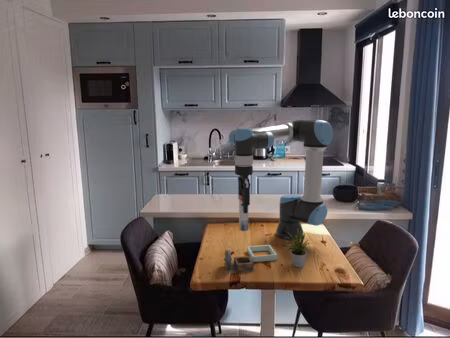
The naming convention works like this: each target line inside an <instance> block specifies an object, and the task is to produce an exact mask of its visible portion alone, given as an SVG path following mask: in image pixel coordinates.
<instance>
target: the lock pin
mask: <svg viewBox="0 0 450 338" xmlns="http://www.w3.org/2000/svg"><path fill="white" fill-rule="evenodd" d="M237 196H238V200H239V201H238V229H239V231H241V232H246V231H248V230H249V219H248V220H242V206H241V204H242V195H237Z"/></svg>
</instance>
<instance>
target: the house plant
mask: <svg viewBox="0 0 450 338" xmlns="http://www.w3.org/2000/svg"><path fill="white" fill-rule="evenodd" d="M285 232H286V231H285ZM287 233H288V232H287ZM288 234H290V233H288ZM301 234H302V237H301ZM290 236H291V237H292V235H291V234H290ZM300 237H301V238H300ZM284 238H288V237H284ZM295 238H296V239H295V240H294V238H293V237H292V239H293V240H292V241H291V242H290V241H289V240H288V239H285V241H286V242H287V243H285V244H284V246H285V245H287V247H288V250H290V257H291V264H292V266H293V267H295V268H303V267H304V266H305V262H306V257H307V252H310V250H309V249H307V250H306V246H307V245H309V244H312V243H311V242H309V241H310V239H307V240H306V241H305V242H304V240H305V238H306V237H305V232H304V231H303V232H302V233H301V231H300V233H299V229H297V235H296V236H295ZM307 242H308V243H307ZM288 250H287V251H288Z"/></svg>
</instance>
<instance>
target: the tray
mask: <svg viewBox="0 0 450 338" xmlns="http://www.w3.org/2000/svg"><path fill="white" fill-rule="evenodd" d="M264 251H266V252H267V251H268V252H269V253H270V254H263V255H262V254H261V255H254V253H253V252H264ZM246 252H247V254H248V256H250V258H251V260H252V261H253V263H258V262H266V261H267V262H268V261H269V262H270V261H277V260H278V254H277V253H276V251H275V250H274V248H273V247H272V245H271V244H265V245H264V244H261V245H260V244H259V245H249V246H246Z"/></svg>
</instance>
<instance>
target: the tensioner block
mask: <svg viewBox="0 0 450 338" xmlns="http://www.w3.org/2000/svg"><path fill="white" fill-rule="evenodd" d="M223 258H224V259H223V264H224V266H225V269H226V272H227V274H237V273H249V272H250V273H252V272H256V270H255V269H254V265H255V264H254V263H255V262H253V261H252V260H251V258H250V256H249V255H246V256H237V257H236V256H234V257H233V259H232V254H231V250H230V249H225V250H224V257H223Z"/></svg>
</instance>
